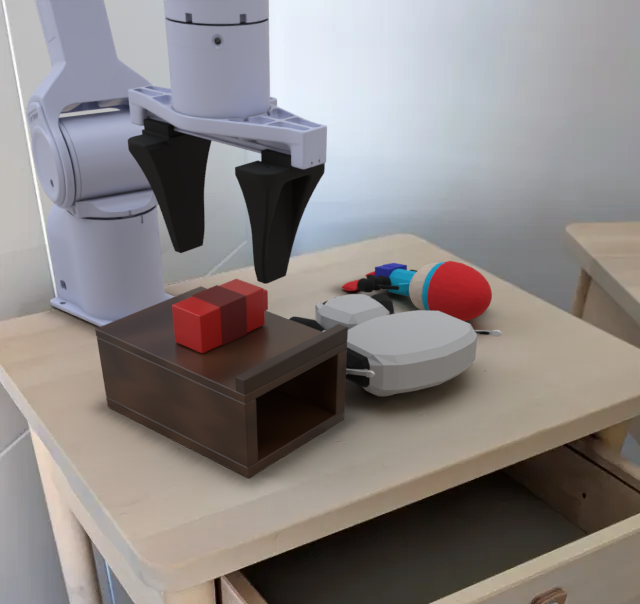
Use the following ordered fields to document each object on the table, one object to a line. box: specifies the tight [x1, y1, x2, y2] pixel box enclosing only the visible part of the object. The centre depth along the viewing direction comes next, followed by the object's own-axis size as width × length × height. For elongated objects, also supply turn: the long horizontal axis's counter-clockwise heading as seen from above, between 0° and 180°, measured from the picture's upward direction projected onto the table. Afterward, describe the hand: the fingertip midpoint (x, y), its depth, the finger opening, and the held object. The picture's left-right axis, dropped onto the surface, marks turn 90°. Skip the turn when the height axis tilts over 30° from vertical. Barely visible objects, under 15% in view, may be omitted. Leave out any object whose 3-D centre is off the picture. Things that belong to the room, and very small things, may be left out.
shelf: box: [94, 285, 348, 479], centre depth 59 cm, size 14×10×7 cm
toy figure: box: [341, 260, 493, 322], centre depth 75 cm, size 8×5×15 cm
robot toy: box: [288, 293, 503, 397], centre depth 66 cm, size 12×4×15 cm
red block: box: [172, 278, 269, 353], centre depth 57 cm, size 3×7×3 cm, turn 140°
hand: (229, 262), depth 56 cm, fingers open, 7 cm apart
